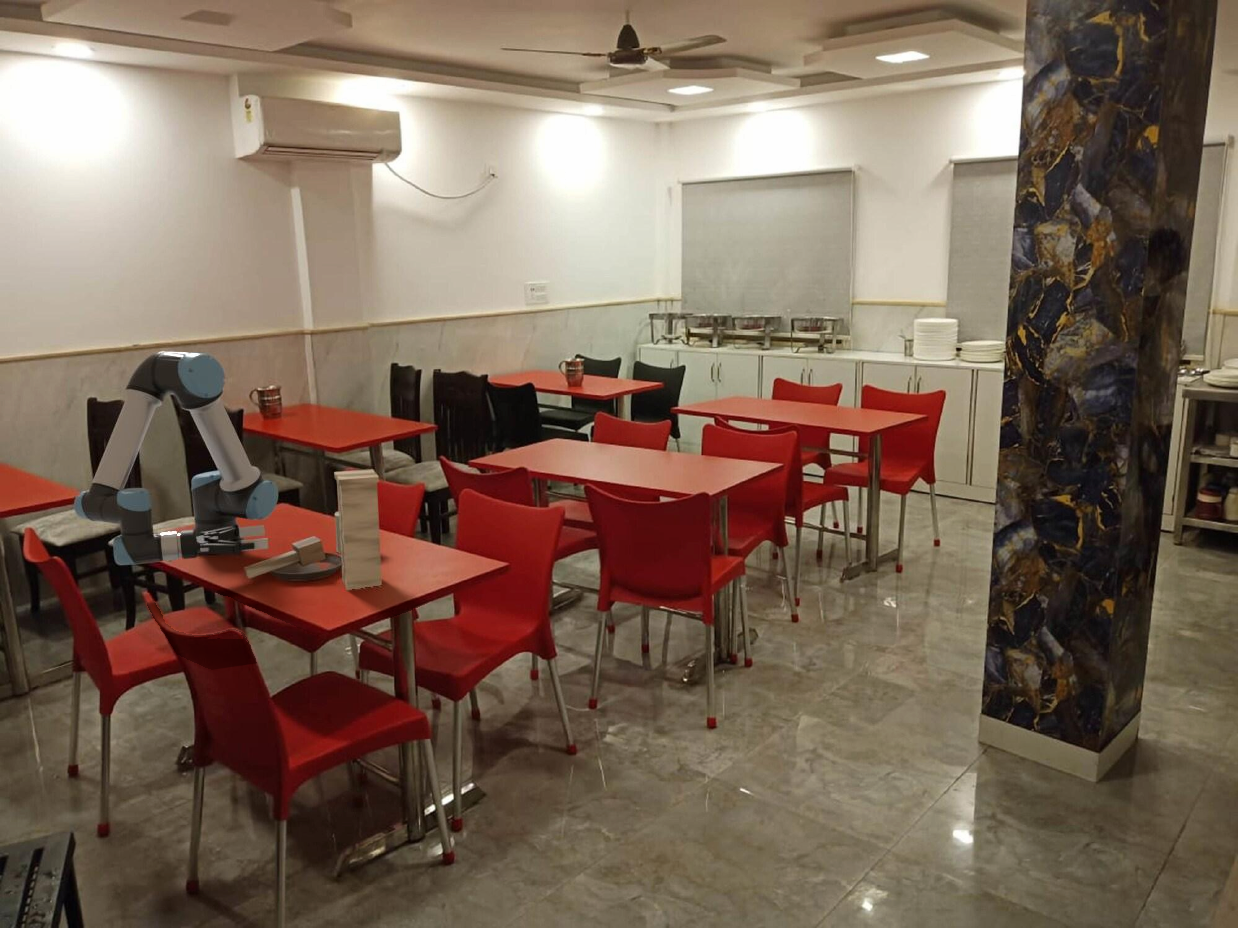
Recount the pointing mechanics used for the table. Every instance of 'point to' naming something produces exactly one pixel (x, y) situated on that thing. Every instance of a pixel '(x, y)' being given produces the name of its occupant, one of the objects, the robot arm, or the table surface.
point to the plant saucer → (309, 569)
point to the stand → (359, 528)
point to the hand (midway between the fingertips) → (266, 536)
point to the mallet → (290, 557)
